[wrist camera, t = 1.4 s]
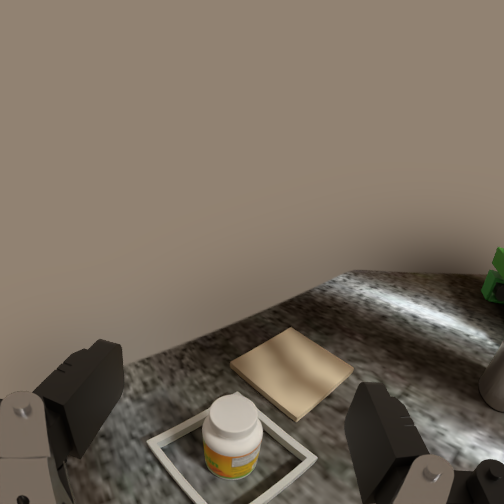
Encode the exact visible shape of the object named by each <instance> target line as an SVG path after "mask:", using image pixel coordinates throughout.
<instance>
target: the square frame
mask: <svg viewBox="0 0 504 504" xmlns="http://www.w3.org/2000/svg"><path fill="white" fill-rule="evenodd" d="M232 395H240V396H242V395H241V394H240V393H239V392H238V391H237V392H236V393H234V394H232ZM243 397H244V396H243ZM209 410H210V408H208V409H206V410H205V411H203V412H201V413H199V414H197V415H196V416H194V417H192V418H190V419H188V420H186V421H185V422H183V423H181V424H179V425H177V426H175V427H173V428H171V429H169V430H167V431H165V432H163V433H161V434H159V435H157V436H155V437H153V438H151V439H149V440H147V441H146V442H147V444H148V447H149V448H150V449H151V451H152V452H153V453H154V455H155V456H156V458H157V459H158V460H159V461H160V463H161V464H162V465H163V467H164V468H165V469H166V470H167V472H168V473H169V474H170V475H171V477H172V478H173V479H174V480H175V482H176V483H177V484H178V485H179V486H180V488H181V489H182V490H183V491H184V492H185V493H186V495H187V496H188V497H189V498H190V499H191V500H192V501H193V503H194V504H207V503H206V502H205V501H204V500H203V498H202V497H201V496H200V495H199V494H198V493H197V492H196V491H195V490H194V489H193V487H192V486H191V485H190V484H189V483H188V482H187V481H186V479H185V478H184V477H183V476H182V475H181V474H180V472H179V471H178V470H177V469H176V467H175V466H174V465H173V464H172V463H171V461H170V460H169V459H168V458H167V456H166V455H165V454H164V452H163V451H162V450H161V449H160V448H161V447H163V446H165V445H167V444H169V443H171V442H173V441H175V440H177V439H179V438H180V437H182V436H184V435H186V434H188V433H190V432H191V431H193V430H195V429H197V428H199V427H200V426H202V425H203V423H204V420H205V419H206V417H207V416H208V415H209ZM257 412H258V418H259V420H260V422H261V424H262V428H263V429H264V430H265V431H266V432H267V433H268V434H270V435H271V436H272V437H273V438H274V439H275V440H277V441H278V442H279V443H280V444H281V445H283V446H284V447H285V448H286V449H287V450H289V451H290V452H291V453H292V454H294V455H295V456H296V457H297V458H299V459H300V460H301V461H303V462H302V463H300V464H299V465H298V466H297V467H296V468H295V469H293V470H292V471H291V472H290V473H289V474H287V475H286V476H285V477H284V478H282V479H281V480H280V481H279V482H277V483H276V484H275V485H274V486H272V487H271V488H270V489H268V490H267V491H266V492H265V493H263V494H262V495H261V496H259V497H258V498H256V499H255V500H254V501H252V502H251V503H249V504H266V503H267V502H269V501H270V500H271V499H272V498H274V497H275V496H276V495H278V494H279V493H280V492H281V491H283V490H284V489H285V488H286V487H287V486H289V485H290V484H291V483H292V482H293V481H295V480H296V479H297V478H298V477H299V476H300V475H302V474H303V473H304V472H305V471H306V470H307V469H308V468H309V467H311V466H312V465H313V464H314V463H315V461H316V460H317V458H318V457H316V456H315V455H314V454H312V453H311V452H310V451H309V450H307V449H306V448H305V447H303V446H302V445H301V444H300V443H298V442H297V441H296V440H294V439H293V438H292V437H291V436H289V435H288V434H287V433H286V432H285V431H283V430H282V429H281V428H280V427H278V426H277V425H276V424H275V423H274V422H272V421H271V420H270V419H269V418H268V417H266V416H265V415H264V414H263V413H262V412H261V411H259V410H258V409H257Z"/></svg>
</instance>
